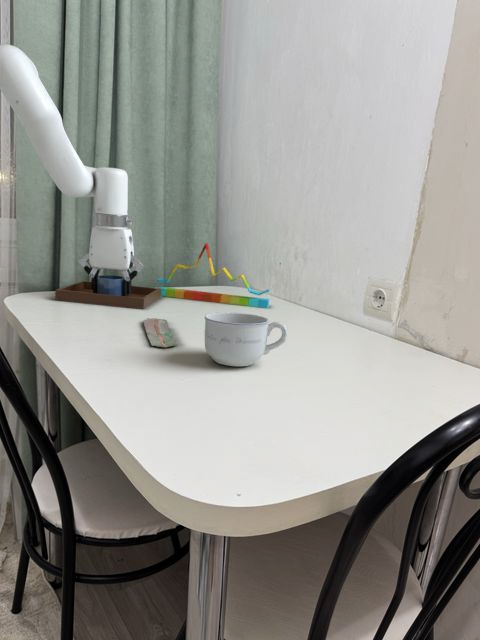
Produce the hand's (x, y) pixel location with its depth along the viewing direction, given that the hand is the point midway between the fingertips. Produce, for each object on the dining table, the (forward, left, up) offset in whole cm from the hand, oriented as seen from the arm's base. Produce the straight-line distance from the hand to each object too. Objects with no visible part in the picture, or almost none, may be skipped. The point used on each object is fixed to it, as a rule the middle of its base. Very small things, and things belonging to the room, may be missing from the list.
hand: (111, 294), depth 127 cm
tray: (0, 0, -1) cm, 1 cm away
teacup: (+38, -41, -1) cm, 56 cm away
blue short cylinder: (0, 0, -1) cm, 1 cm away
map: (+20, -28, -1) cm, 34 cm away
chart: (+24, +11, -1) cm, 26 cm away
